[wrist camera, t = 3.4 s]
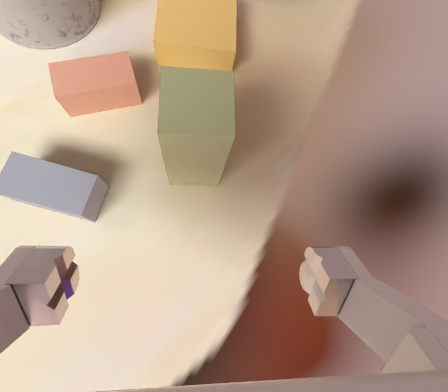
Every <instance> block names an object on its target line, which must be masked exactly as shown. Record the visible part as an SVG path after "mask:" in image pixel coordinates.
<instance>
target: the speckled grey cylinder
mask: <svg viewBox="0 0 448 392" xmlns="http://www.w3.org/2000/svg"><path fill="white" fill-rule="evenodd" d="M99 14H100V1H99V0H0V33H1V34H2V35H3V36H4V37H5V38H7V39H9V40H10V41H12V42H14V43H16V44H18V45H21V46H25V47H28V48H34V49H56V48H60V47H65V46H68V45H70V44H73V43H75V42H77V41H79V40H80V39H82V38H83V37H85V36H86V35H87V34H88V33H89V32H90V31H91V30H92V29H93V28H94V26H95V24H96V23H97V21H98V18H99Z"/></svg>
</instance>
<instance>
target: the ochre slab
mask: <svg viewBox="0 0 448 392" xmlns="http://www.w3.org/2000/svg"><path fill="white" fill-rule="evenodd" d="M236 21H237V0H158V6H157V15H156V24H155V34H154V48H155V54H156V60H157V65H163V66H173V67H185V68H198V69H210V70H222V71H232V68H233V64H234V59H235V54H236Z"/></svg>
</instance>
